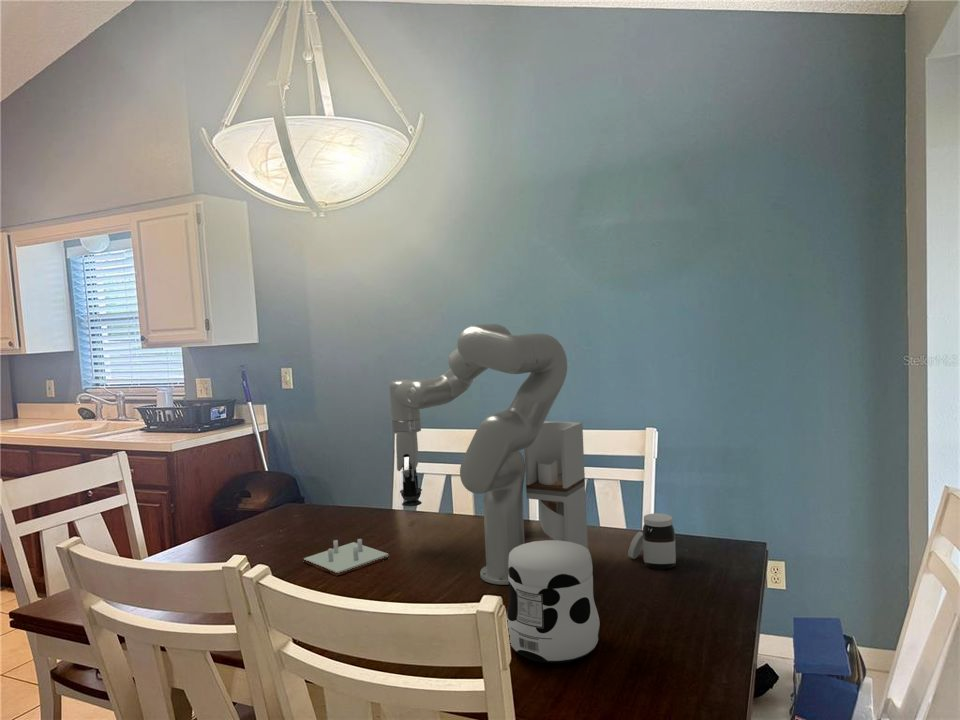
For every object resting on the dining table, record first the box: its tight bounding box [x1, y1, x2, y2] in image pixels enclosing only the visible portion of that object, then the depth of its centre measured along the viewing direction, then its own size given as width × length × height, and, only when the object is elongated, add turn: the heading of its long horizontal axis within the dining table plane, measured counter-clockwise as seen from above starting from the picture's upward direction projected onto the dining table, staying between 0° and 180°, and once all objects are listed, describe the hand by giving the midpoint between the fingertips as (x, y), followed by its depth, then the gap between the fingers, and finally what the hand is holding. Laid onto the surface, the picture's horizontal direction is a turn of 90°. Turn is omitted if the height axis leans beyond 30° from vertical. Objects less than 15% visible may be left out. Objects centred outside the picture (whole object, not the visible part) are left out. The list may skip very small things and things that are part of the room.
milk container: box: [506, 539, 601, 664], centre depth 125 cm, size 17×17×18 cm
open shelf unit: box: [523, 420, 589, 550], centre depth 166 cm, size 11×11×35 cm
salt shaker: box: [399, 460, 423, 507], centre depth 179 cm, size 6×6×12 cm
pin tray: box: [303, 538, 390, 573], centre depth 178 cm, size 16×16×4 cm
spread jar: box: [627, 512, 677, 570], centre depth 165 cm, size 12×11×12 cm
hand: (411, 492), depth 179 cm, fingers closed on salt shaker, 5 cm apart
